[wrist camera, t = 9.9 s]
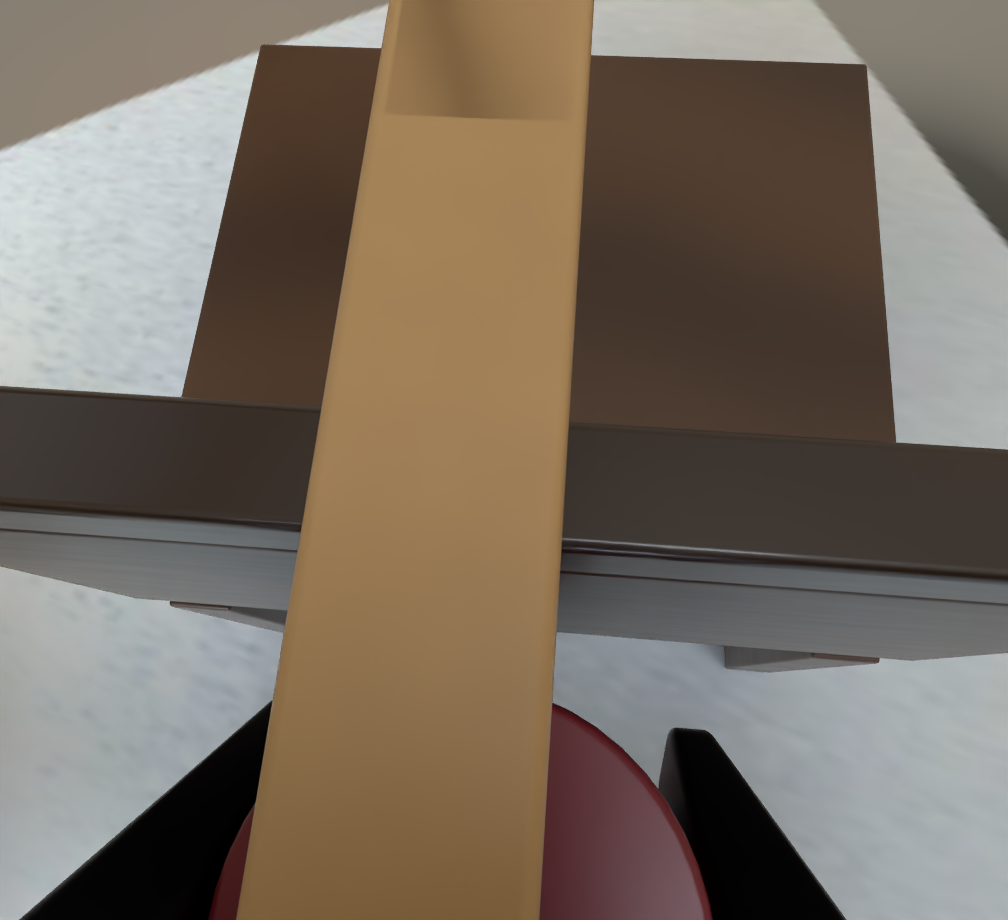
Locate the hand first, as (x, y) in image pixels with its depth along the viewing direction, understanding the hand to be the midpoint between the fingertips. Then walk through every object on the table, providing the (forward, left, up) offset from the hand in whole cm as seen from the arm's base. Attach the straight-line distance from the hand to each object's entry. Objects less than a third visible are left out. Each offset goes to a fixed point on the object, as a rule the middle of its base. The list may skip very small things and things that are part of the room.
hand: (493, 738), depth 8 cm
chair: (+7, -1, -12) cm, 14 cm away
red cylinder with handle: (0, 0, -7) cm, 7 cm away
